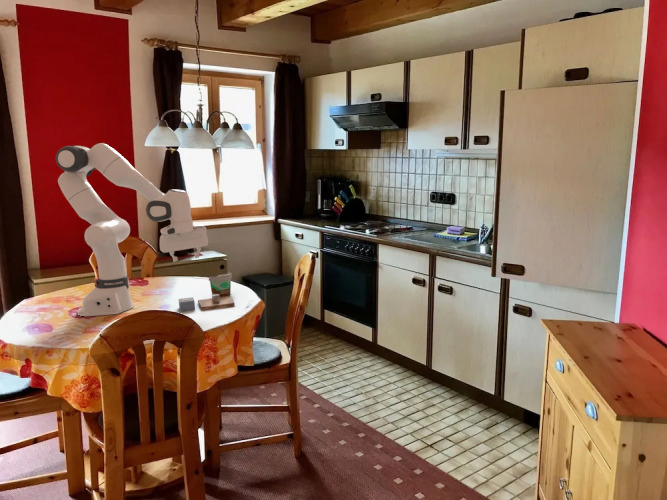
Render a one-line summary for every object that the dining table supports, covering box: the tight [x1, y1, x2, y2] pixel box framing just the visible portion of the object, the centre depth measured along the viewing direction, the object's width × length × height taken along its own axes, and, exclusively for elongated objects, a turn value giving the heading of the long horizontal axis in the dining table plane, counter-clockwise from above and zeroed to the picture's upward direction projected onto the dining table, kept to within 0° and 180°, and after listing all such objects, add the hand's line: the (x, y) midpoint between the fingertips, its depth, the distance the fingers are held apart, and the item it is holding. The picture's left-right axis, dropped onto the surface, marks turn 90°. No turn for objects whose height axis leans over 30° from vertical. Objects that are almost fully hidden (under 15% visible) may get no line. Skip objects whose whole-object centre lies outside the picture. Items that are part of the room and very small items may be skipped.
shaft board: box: [197, 294, 236, 311], centre depth 236 cm, size 14×12×4 cm
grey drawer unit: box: [178, 296, 196, 312], centre depth 231 cm, size 6×6×4 cm
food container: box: [208, 271, 233, 297], centre depth 251 cm, size 12×6×10 cm, turn 143°
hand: (186, 259), depth 230 cm, fingers open, 8 cm apart
